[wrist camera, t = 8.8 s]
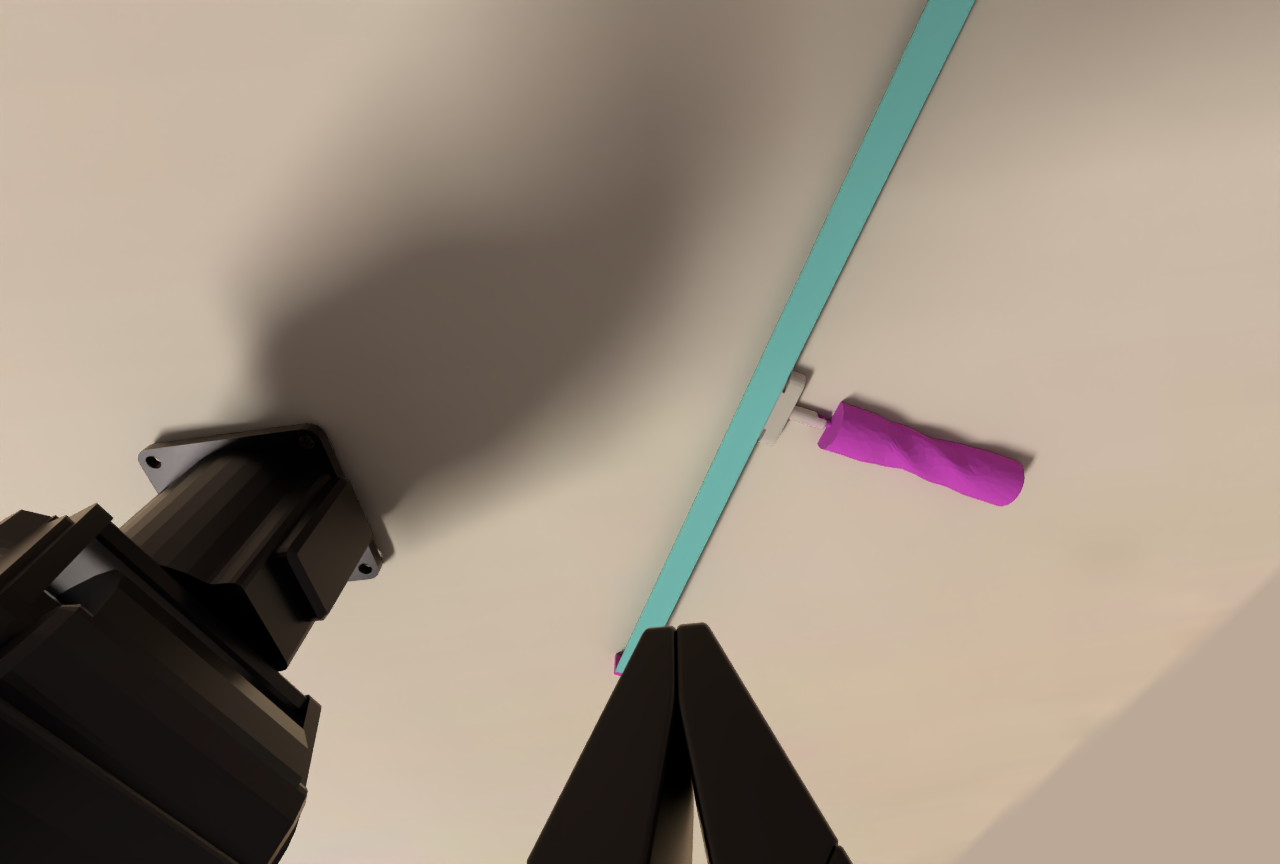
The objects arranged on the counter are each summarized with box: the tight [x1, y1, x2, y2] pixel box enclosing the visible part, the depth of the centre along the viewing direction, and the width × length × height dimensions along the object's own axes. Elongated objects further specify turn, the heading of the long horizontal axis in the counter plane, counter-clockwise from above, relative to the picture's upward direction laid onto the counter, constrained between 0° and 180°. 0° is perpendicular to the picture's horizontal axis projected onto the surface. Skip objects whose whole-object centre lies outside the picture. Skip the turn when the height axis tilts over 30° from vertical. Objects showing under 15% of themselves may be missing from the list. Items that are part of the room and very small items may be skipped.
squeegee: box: [614, 0, 1024, 676], centre depth 22 cm, size 29×2×10 cm
